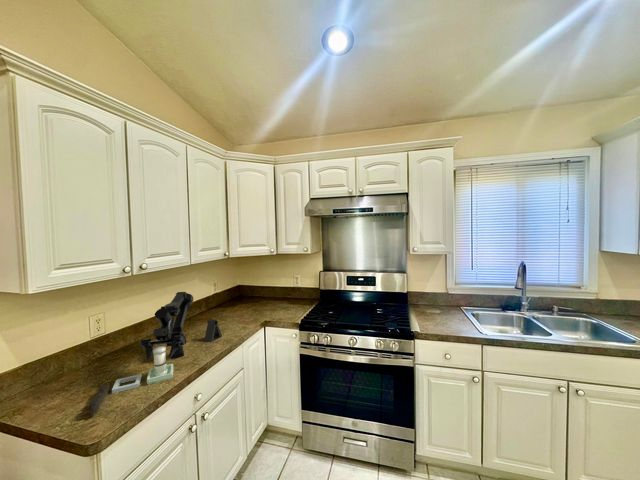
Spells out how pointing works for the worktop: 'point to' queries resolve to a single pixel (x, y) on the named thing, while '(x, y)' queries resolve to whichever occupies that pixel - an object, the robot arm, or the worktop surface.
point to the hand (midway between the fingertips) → (158, 359)
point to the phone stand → (212, 331)
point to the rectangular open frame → (129, 386)
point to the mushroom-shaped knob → (160, 361)
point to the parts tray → (152, 379)
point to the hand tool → (98, 398)
